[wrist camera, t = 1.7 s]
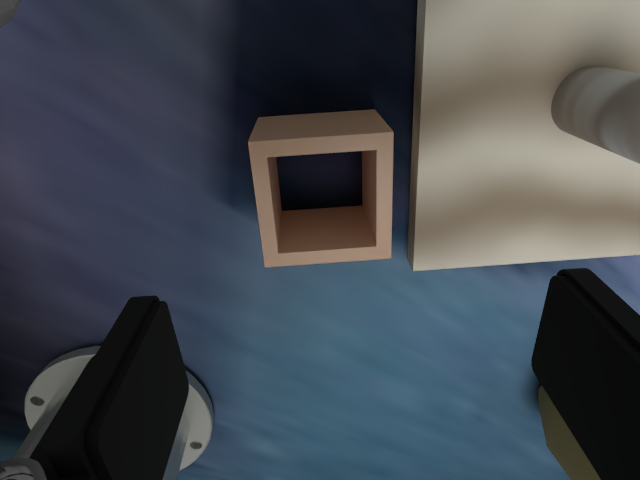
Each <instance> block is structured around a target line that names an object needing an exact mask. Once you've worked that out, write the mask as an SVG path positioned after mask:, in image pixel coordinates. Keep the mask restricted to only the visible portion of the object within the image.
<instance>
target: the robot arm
mask: <svg viewBox="0 0 640 480" xmlns="http://www.w3.org/2000/svg"><path fill="white" fill-rule="evenodd" d="M532 368H533V371H534V373H535V375H536V377H537V379H538V380H539V382H540V383H541V385H542V386H543V388H544V390H545V391H546V393H547V394H548V396H549V398H550V399H551V401H552V402H553V404H554V406H555V407H556V409H557V410H558V412H559V414H560V415H561V417H562V418H563V420H564V422H565V423H566V425H567V426H568V428H569V430H570V431H571V433H572V434H573V436H574V438H575V439H576V441H577V442H578V444H579V445H580V447H581V449H582V450H583V452H584V453H585V455H586V457H587V458H588V460H589V461H590V463H591V465H592V466H593V468H594V469H595V471H596V473H597V474H598V476H599V477H600V479H601V480H640V315H639V314H638V313H636V312H635V311H634V310H633V309H632V308H631V307H630V306H629V305H628V304H627V303H626V302H625V301H623V300H622V299H621V298H620V297H619V296H618V295H617V294H616V293H615V292H614V291H613V290H611V289H610V288H609V287H608V286H607V285H606V284H605V283H604V282H603V281H602V280H601V279H599V278H598V277H597V276H596V275H595V274H594V273H593V272H592V271H591V270H589V269H587V268H578V269H563V270H560V271H559V272H558V273H557V275H556V276H553V277H552V278H551V280H550V283H549V287H548V291H547V295H546V300H545V304H544V308H543V312H542V317H541V321H540V325H539V330H538V334H537V338H536V342H535V347H534V351H533V355H532ZM24 413H25V417H26V421H27V424H28V426H29V428H30V430H31V431H30V432H29V434H28V435H27V437H26V439H25V440H24V442H23V443H22V445H21V446H20V448H19V449H18V451H17V452H16V454H15V455H14V457H13V458H12V459H10V460H6V461H3V462H0V480H177V477H178V473H179V471H180V470H182V469H184V468H186V467H188V466H189V465H190V464H191V463H193V462H194V461H195V460H197V459H198V458H199V457H200V455H201V454H202V453H203V452H204V451H205V449H206V447H207V445H208V443H209V441H210V438H211V434H212V429H213V425H214V411H213V407H212V403H211V400H210V398H209V396H208V394H207V393H206V391H205V389H204V388H203V387H202V385H201V384H200V383H199V382H198V381H197V379H196V378H195V377H194V376H192V375H191V374H190V373H189V372H188V371H186V370H185V367H184V363H183V360H182V356H181V352H180V349H179V345H178V342H177V338H176V334H175V331H174V327H173V324H172V320H171V316H170V313H169V309H168V306H167V303H166V302H165V301H160V300H159V298H158V297H157V296H142V297H132V298H130V299H129V300H128V302H127V304H126V305H125V307H124V309H123V310H122V312H121V314H120V315H119V317H118V319H117V320H116V322H115V323H114V325H113V327H112V328H111V330H110V332H109V333H108V335H107V337H106V338H105V340H104V342H103V343H102V345H101V346H92V347H87V348H81V349H77V350H74V351H71V352H69V353H66V354H63V355H61V356H59V357H58V358H56V359H55V360H53V361H52V362H50V363H49V364H48V365H47V366H46V367H45V368H44V369H43V370H42V371H41V372H40V373H39V374H38V376H37V377H36V379H35V380H34V381H33V383H32V384H31V386H30V387H29V389H28V392H27V394H26V397H25V407H24Z"/></svg>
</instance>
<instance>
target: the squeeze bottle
mask: <svg viewBox="0 0 640 480" xmlns="http://www.w3.org/2000/svg"><path fill="white" fill-rule="evenodd" d="M538 403H539V408H540V413H541V418H542V423H543V428H544V434H545V439H546V444H547V447H548V448H549V450H550V451H551V452H552V454H553V455H554V457H555V458H556V459H557V461H558V462H559V464H560V465H561V466H562V468H563V469H564V471H565V472H566V473H567V475H568V476H569V478H570V479H571V480H601V479H600V477H599V476H598V474H597V473H596V471H595V469H594V468H593V466H592V465H591V463H590V461H589V460H588V458H587V457H586V455H585V453H584V452H583V450H582V449H581V447H580V445H579V444H578V442H577V441H576V439H575V438H574V436H573V434H572V433H571V431H570V430H569V428H568V426H567V425H566V423H565V422H564V420H563V418H562V417H561V415H560V414H559V412H558V410H557V409H556V407H555V406H554V404H553V402H552V401H551V399H550V398H549V396H548V394H547V393H546V391H545V390H544V388H543V386H542V385H541V386H540V388H539V390H538Z"/></svg>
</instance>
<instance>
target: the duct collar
mask: <svg viewBox="0 0 640 480" xmlns="http://www.w3.org/2000/svg"><path fill="white" fill-rule="evenodd" d="M393 140H394V132H393V131H392V129H391V128H390V127H389V126H388V125H387V123H386V122H385V121H384V120H383V119H382V117H381V116H380V115H379V114H378V113H377V111H376V110H375V109H371V110H357V111H342V112H327V113H312V114H298V115H283V116H268V117H258V119H257V121H256V124H255V126H254V128H253V131H252V133H251V136H250V138H249V140H248V146H249V154H250V161H251V168H252V176H253V183H254V191H255V198H256V205H257V213H258V220H259V227H260V235H261V242H262V250H263V257H264V264H265V268H266V267H279V266H293V265H307V264H321V263H335V262H349V261H363V260H376V259H390V258H391V238H392V189H393ZM352 151H362V205H361V206H347V207H333V208H318V209H304V210H290V211H282V207H281V198H280V188H279V179H278V170H277V160H276V157H280V156H294V155H309V154H323V153H338V152H352Z"/></svg>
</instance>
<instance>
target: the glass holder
mask: <svg viewBox="0 0 640 480" xmlns="http://www.w3.org/2000/svg"><path fill="white" fill-rule="evenodd" d="M20 1H21V0H0V27H1V26H3V25H4V24H6V23H8V21H9V20H10V18H11V17H12V15H13V14H14V13H15V11H16V9H17V7H18V5H19V3H20Z"/></svg>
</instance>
